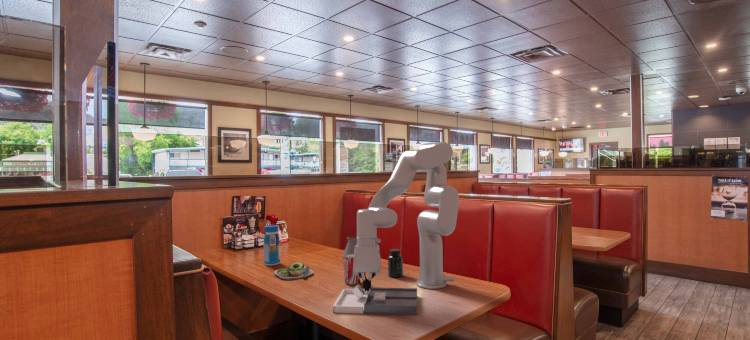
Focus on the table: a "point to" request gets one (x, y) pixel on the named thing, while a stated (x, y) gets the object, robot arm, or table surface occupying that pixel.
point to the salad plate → (294, 271)
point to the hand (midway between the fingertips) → (367, 289)
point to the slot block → (393, 301)
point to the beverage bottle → (271, 245)
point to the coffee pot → (350, 246)
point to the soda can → (350, 271)
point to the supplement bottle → (395, 264)
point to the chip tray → (350, 302)
